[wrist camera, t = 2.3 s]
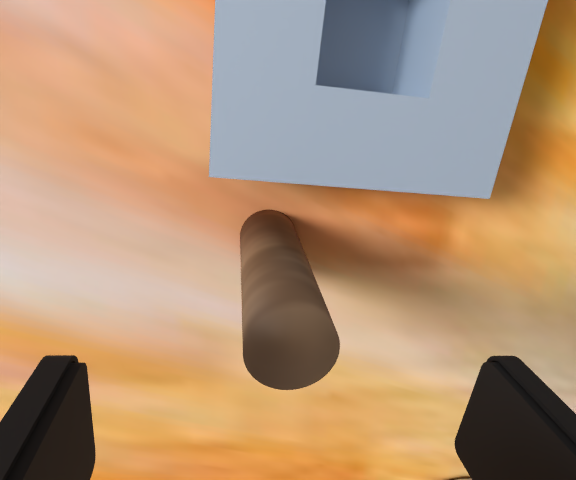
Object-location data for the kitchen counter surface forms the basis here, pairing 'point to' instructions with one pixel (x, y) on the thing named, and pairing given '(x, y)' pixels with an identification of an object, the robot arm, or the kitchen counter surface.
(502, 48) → the hole block
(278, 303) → the peg
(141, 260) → the kitchen counter surface
